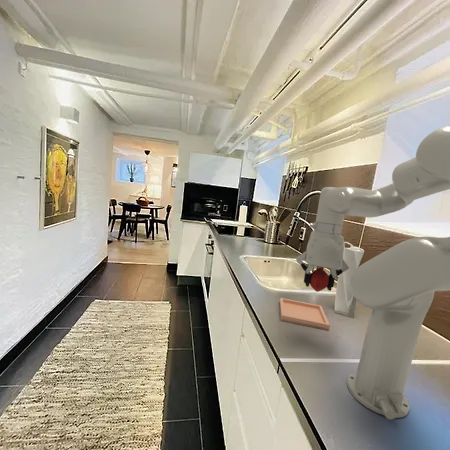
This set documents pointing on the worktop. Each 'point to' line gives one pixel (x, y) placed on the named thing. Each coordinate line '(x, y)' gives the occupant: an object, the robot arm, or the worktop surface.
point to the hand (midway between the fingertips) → (317, 286)
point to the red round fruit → (319, 279)
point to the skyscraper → (347, 282)
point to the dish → (303, 314)
